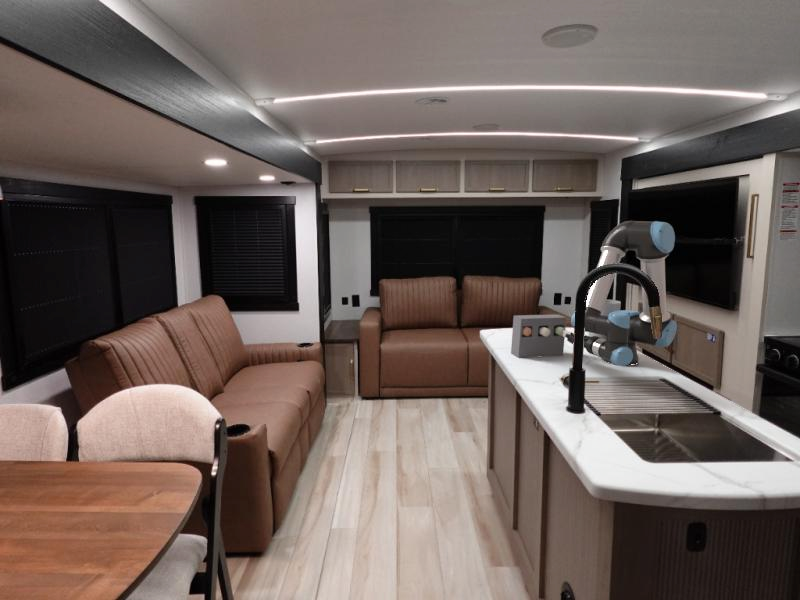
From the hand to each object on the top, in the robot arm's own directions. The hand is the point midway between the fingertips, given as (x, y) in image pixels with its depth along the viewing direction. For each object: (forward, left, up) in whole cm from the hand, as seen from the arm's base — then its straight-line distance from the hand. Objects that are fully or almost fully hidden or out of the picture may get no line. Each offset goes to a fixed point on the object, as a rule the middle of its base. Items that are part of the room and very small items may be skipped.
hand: (564, 333), depth 220 cm
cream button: (+8, -4, -2) cm, 9 cm away
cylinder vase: (-25, -6, -12) cm, 29 cm away
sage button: (0, -4, -2) cm, 5 cm away
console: (+8, -9, -12) cm, 17 cm away
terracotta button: (+16, -7, -2) cm, 17 cm away
